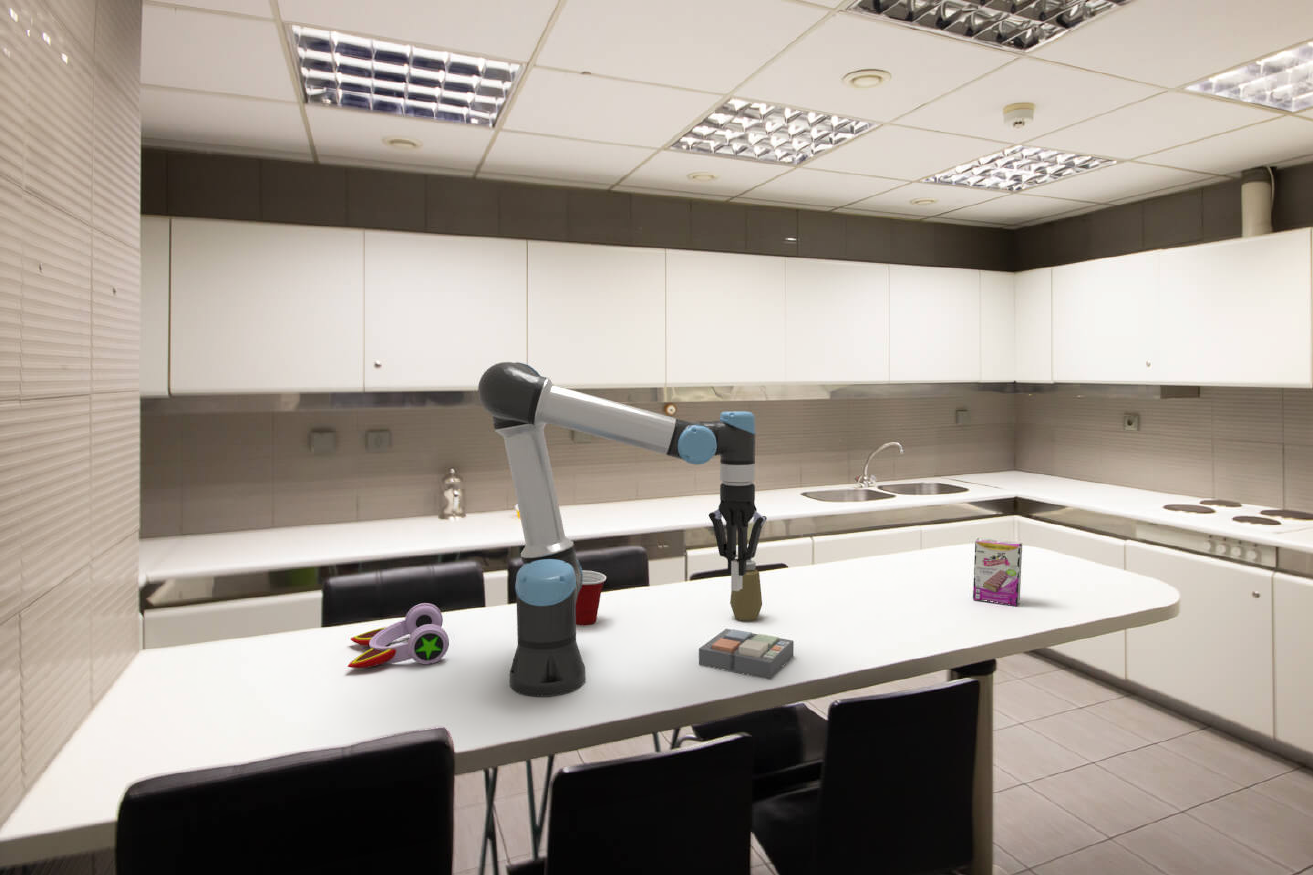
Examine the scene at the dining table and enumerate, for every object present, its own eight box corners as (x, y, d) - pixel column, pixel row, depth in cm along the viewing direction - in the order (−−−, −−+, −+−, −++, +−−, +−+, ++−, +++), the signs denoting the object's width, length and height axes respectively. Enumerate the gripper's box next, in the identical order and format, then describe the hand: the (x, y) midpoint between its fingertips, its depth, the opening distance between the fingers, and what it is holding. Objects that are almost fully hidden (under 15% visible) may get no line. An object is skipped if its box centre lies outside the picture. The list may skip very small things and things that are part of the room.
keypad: (770, 679, 147) (770, 660, 147) (698, 664, 155) (698, 646, 155) (793, 656, 159) (793, 638, 159) (726, 643, 167) (726, 626, 167)
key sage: (770, 657, 155) (770, 643, 155) (750, 653, 158) (750, 640, 157) (778, 650, 159) (778, 637, 159) (758, 646, 162) (758, 633, 161)
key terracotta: (731, 662, 153) (731, 648, 153) (711, 658, 155) (711, 644, 155) (740, 655, 157) (740, 641, 157) (720, 651, 159) (720, 638, 159)
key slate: (743, 652, 158) (743, 639, 158) (724, 648, 161) (724, 635, 160) (751, 645, 162) (751, 632, 162) (732, 642, 165) (732, 629, 164)
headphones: (451, 627, 157) (350, 628, 150) (447, 672, 157) (346, 675, 150) (443, 601, 175) (353, 601, 168) (439, 641, 176) (349, 643, 169)
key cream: (759, 664, 150) (759, 650, 149) (738, 660, 152) (738, 646, 152) (767, 657, 154) (767, 643, 153) (747, 653, 156) (747, 639, 156)
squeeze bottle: (754, 624, 180) (754, 552, 178) (724, 619, 184) (724, 549, 182) (767, 615, 186) (767, 546, 185) (738, 610, 191) (738, 542, 189)
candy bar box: (972, 600, 197) (974, 540, 196) (975, 596, 202) (977, 537, 200) (1018, 607, 191) (1020, 545, 190) (1020, 602, 196) (1022, 542, 194)
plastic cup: (600, 630, 176) (599, 581, 175) (557, 627, 179) (556, 579, 178) (612, 616, 187) (611, 570, 186) (571, 613, 189) (570, 568, 188)
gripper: (772, 482, 159) (771, 589, 160) (717, 478, 165) (717, 581, 167) (759, 487, 152) (758, 598, 154) (702, 482, 158) (702, 589, 160)
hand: (736, 589), depth 160 cm, fingers closed
